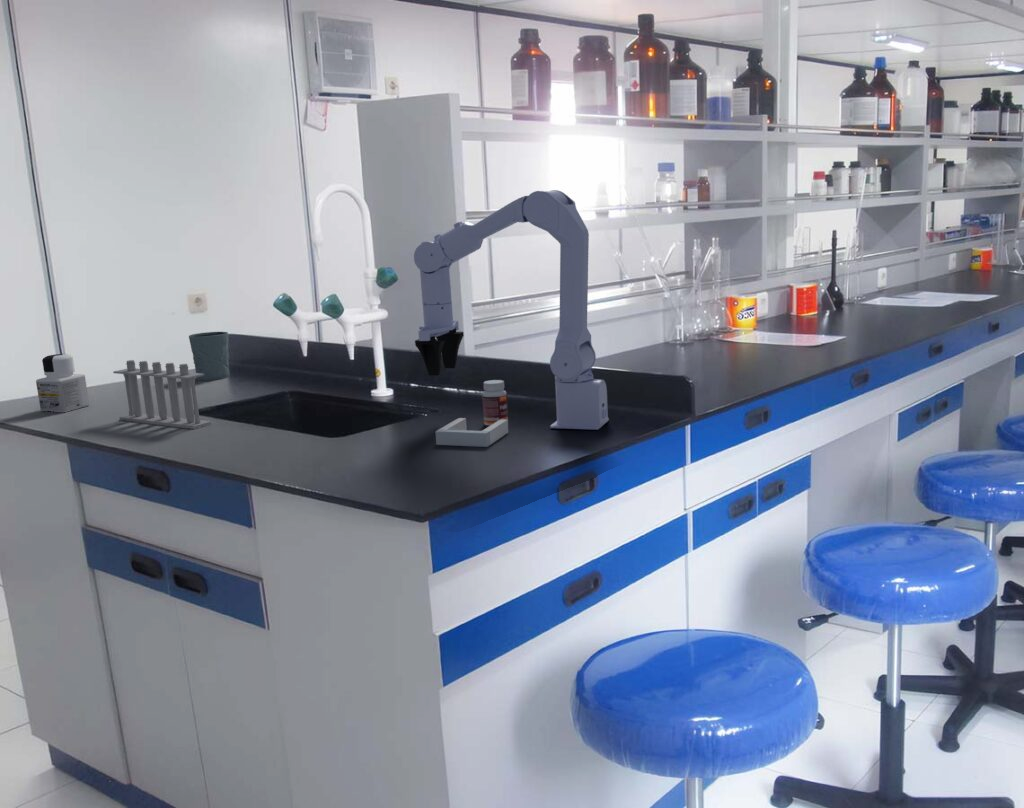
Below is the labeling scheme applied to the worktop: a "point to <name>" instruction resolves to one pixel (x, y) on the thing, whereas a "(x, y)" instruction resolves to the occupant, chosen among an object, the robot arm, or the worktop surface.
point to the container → (61, 385)
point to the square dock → (470, 434)
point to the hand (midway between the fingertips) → (442, 371)
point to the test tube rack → (161, 395)
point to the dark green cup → (210, 355)
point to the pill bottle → (494, 402)
